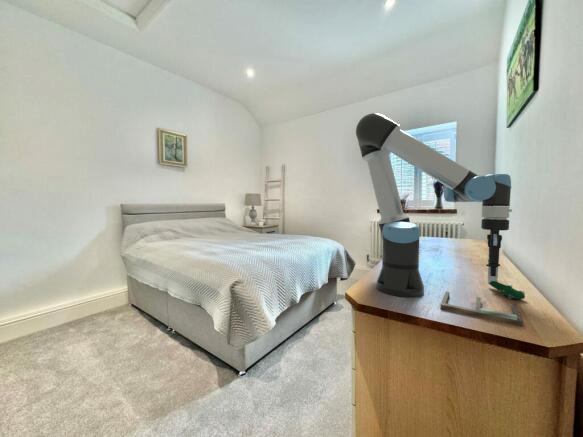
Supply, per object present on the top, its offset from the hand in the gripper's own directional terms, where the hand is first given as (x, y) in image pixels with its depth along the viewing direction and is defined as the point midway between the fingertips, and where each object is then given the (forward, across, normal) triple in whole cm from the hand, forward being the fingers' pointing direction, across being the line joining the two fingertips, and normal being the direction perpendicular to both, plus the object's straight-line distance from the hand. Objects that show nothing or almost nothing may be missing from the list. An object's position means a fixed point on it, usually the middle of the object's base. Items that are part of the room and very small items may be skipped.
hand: (492, 284), depth 87 cm
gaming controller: (-1, -9, -1) cm, 9 cm away
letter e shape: (+1, -25, +4) cm, 26 cm away
